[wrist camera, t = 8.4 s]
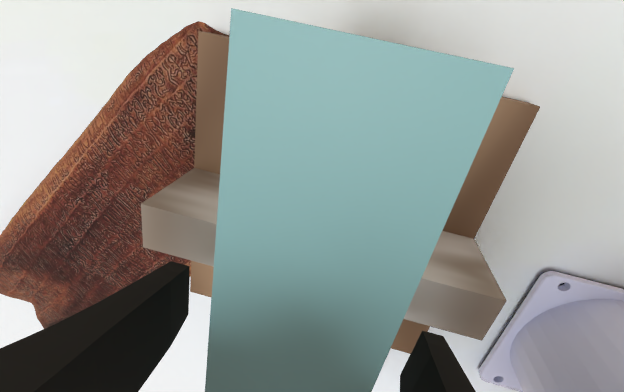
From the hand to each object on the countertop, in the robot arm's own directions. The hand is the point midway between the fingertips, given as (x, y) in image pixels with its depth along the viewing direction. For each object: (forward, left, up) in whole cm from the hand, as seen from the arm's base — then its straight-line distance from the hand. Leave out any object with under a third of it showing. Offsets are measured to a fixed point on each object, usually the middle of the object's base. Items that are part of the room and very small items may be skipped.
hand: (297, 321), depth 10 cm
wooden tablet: (+12, +5, -8) cm, 15 cm away
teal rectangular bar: (0, 0, -2) cm, 2 cm away
